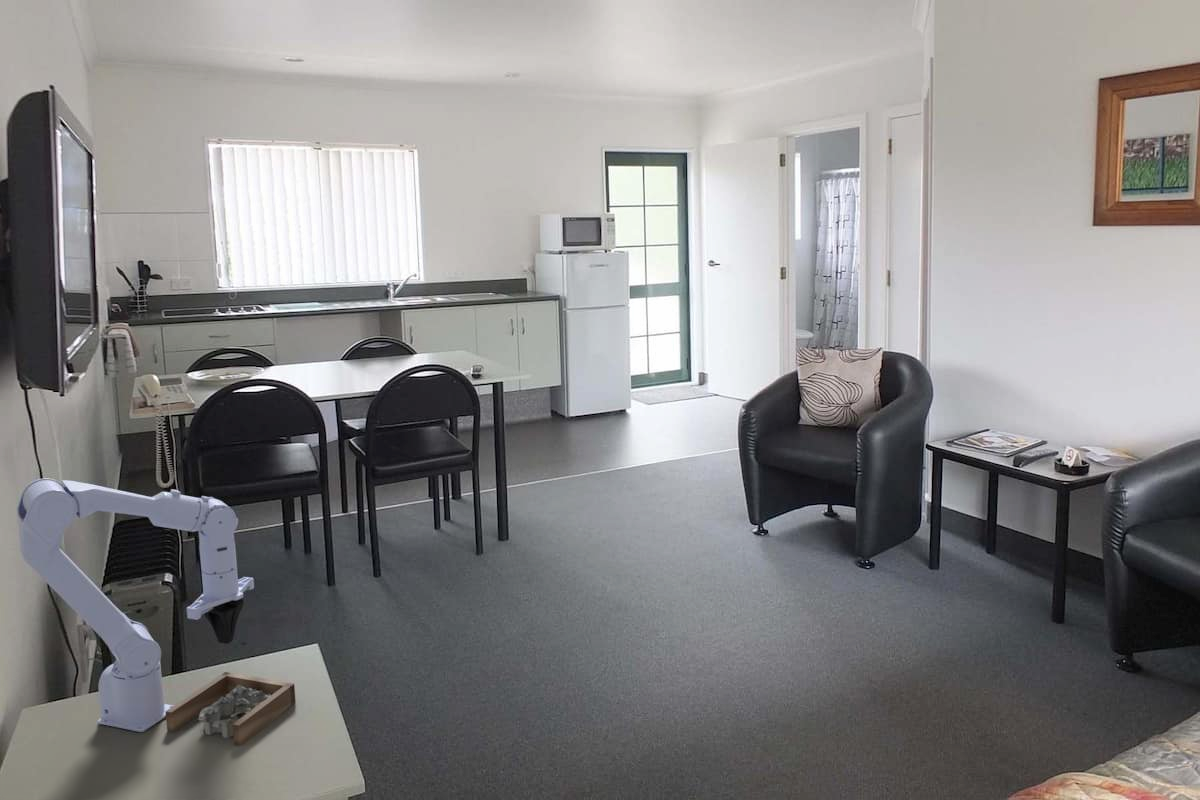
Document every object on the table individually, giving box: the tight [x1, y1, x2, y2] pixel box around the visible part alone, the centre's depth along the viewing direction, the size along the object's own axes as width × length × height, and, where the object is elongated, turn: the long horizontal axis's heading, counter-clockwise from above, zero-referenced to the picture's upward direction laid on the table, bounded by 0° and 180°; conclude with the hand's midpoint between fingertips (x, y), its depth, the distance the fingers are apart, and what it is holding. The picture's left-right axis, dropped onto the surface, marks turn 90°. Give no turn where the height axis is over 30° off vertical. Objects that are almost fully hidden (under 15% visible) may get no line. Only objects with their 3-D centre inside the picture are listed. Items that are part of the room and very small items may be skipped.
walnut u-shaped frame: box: [165, 671, 296, 746], centre depth 155 cm, size 14×14×4 cm
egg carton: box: [197, 685, 271, 738], centre depth 153 cm, size 11×8×4 cm
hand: (225, 641), depth 162 cm, fingers closed
